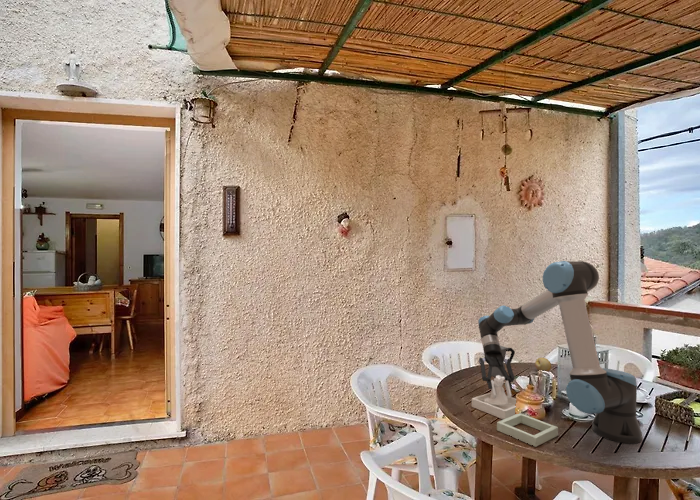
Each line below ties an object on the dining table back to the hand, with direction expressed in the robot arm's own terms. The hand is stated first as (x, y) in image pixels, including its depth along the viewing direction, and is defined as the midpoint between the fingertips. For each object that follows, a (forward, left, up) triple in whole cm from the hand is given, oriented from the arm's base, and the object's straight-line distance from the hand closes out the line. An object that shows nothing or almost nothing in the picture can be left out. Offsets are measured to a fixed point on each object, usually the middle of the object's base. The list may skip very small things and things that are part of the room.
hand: (502, 396), depth 163 cm
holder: (-16, +9, -7) cm, 19 cm away
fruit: (+20, -68, -7) cm, 71 cm away
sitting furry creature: (+3, -2, -4) cm, 6 cm away
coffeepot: (+30, -42, -7) cm, 52 cm away
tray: (+3, -2, -7) cm, 8 cm away
